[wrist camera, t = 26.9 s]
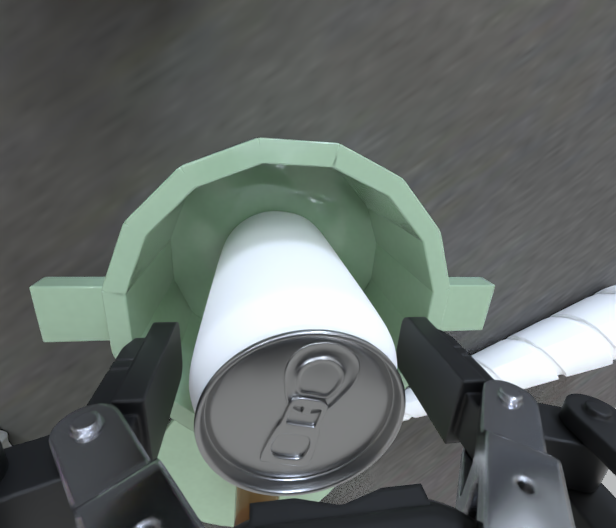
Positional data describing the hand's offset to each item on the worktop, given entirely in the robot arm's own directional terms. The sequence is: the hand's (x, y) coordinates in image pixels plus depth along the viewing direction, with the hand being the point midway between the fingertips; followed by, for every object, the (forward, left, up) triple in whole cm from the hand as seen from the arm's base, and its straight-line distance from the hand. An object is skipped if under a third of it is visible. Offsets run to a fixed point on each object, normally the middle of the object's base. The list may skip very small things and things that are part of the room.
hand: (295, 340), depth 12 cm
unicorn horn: (+9, +17, -9) cm, 21 cm away
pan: (0, 0, -9) cm, 9 cm away
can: (0, 0, -9) cm, 9 cm away
